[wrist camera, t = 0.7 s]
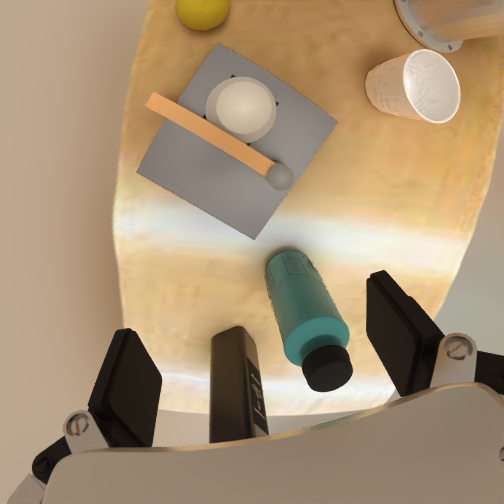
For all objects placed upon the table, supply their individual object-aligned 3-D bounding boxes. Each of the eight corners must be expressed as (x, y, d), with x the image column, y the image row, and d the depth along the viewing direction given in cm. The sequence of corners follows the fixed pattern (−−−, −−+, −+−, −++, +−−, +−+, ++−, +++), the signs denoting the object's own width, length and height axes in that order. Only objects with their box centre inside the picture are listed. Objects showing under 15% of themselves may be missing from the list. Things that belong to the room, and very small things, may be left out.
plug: (230, 72, 29) (231, 53, 20) (280, 104, 31) (302, 97, 22) (196, 121, 31) (184, 121, 22) (247, 151, 33) (256, 164, 24)
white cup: (386, 130, 33) (432, 138, 24) (348, 82, 30) (388, 73, 21) (421, 97, 31) (470, 98, 22) (386, 50, 28) (432, 36, 19)
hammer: (149, 110, 26) (139, 109, 23) (161, 90, 26) (153, 86, 22) (277, 186, 31) (284, 195, 28) (290, 168, 30) (299, 174, 27)
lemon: (234, 3, 25) (237, -25, 18) (221, 42, 27) (220, 20, 20) (189, -4, 24) (180, -32, 17) (175, 34, 26) (161, 12, 19)
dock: (218, 51, 28) (217, 42, 24) (326, 121, 32) (338, 122, 29) (145, 166, 33) (136, 172, 29) (251, 227, 37) (254, 240, 33)
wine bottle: (241, 323, 43) (263, 530, 16) (258, 347, 46) (287, 534, 18) (208, 337, 44) (206, 535, 17) (227, 360, 46) (236, 541, 19)
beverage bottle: (253, 274, 40) (274, 395, 22) (280, 234, 38) (327, 341, 20) (292, 294, 42) (332, 409, 24) (320, 257, 40) (383, 363, 22)
